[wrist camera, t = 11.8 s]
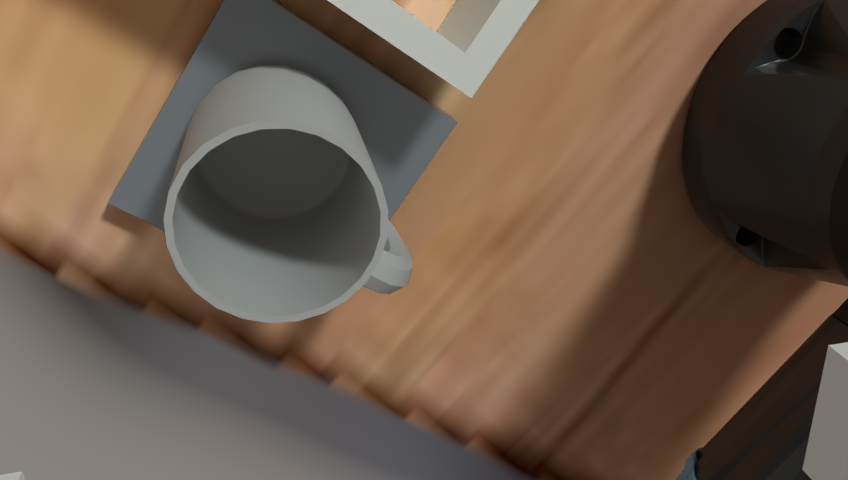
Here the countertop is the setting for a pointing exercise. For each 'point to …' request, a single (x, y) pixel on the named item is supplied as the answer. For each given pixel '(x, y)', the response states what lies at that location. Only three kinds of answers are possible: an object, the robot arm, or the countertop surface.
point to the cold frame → (447, 35)
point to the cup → (279, 201)
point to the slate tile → (303, 50)
